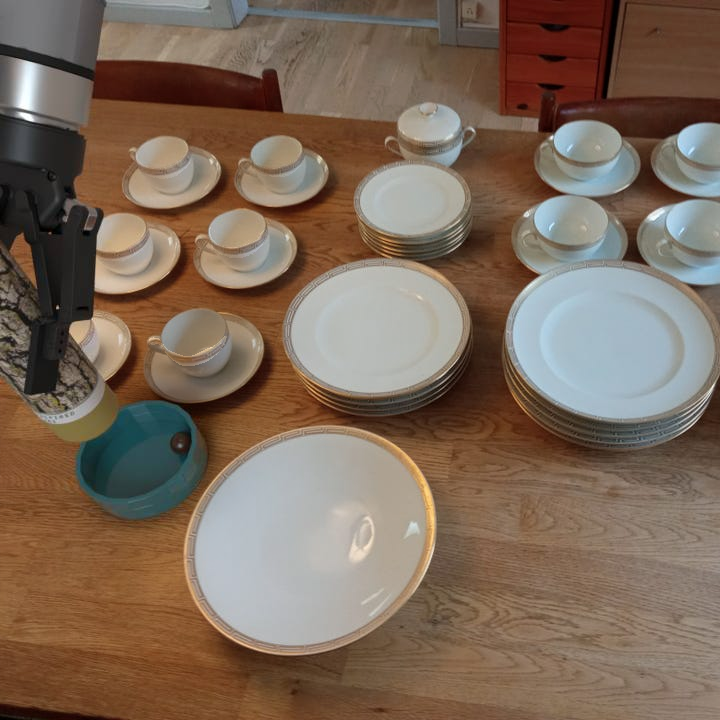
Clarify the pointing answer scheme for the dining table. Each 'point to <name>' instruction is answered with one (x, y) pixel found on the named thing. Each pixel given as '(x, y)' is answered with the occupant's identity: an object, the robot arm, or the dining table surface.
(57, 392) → the paper tube
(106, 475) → the bowl
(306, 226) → the dining table surface
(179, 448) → the bead
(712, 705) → the dining table surface
